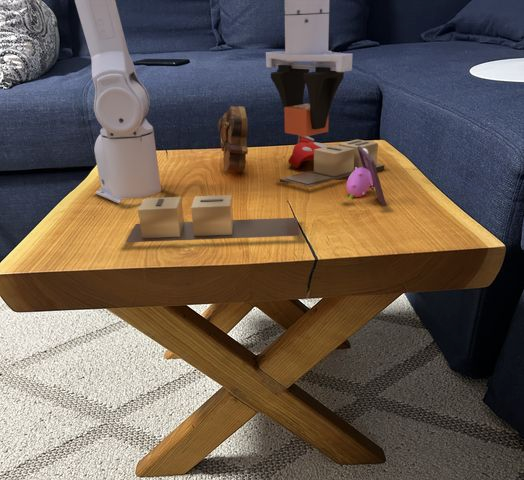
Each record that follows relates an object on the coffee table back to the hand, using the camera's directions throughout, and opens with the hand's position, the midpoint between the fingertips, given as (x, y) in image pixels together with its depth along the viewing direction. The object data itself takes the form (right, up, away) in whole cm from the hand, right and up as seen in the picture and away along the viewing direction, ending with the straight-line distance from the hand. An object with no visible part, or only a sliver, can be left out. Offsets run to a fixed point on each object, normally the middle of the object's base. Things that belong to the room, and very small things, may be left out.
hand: (306, 126), depth 79 cm
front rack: (-12, -18, -12) cm, 25 cm away
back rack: (+5, -5, +9) cm, 11 cm away
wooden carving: (-11, -2, +14) cm, 18 cm away
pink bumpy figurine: (+7, -12, -3) cm, 14 cm away
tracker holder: (+3, +1, +17) cm, 18 cm away
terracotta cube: (0, -1, 0) cm, 1 cm away
